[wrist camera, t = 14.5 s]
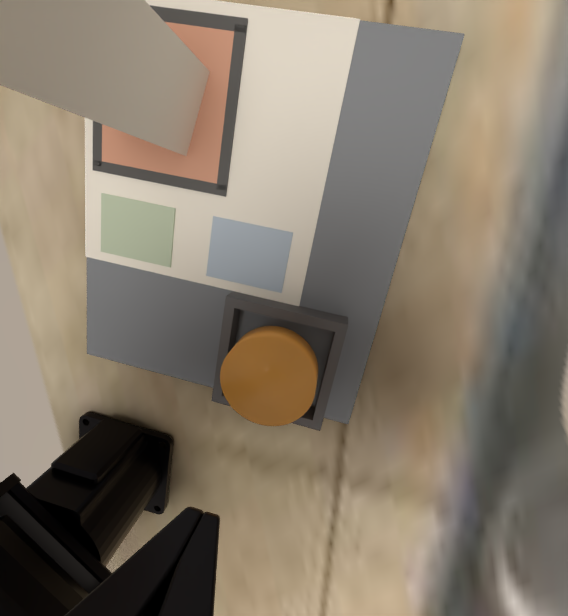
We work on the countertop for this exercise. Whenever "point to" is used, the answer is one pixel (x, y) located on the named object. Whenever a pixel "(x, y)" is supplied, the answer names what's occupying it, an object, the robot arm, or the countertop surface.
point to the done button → (270, 376)
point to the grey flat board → (265, 195)
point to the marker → (104, 65)
